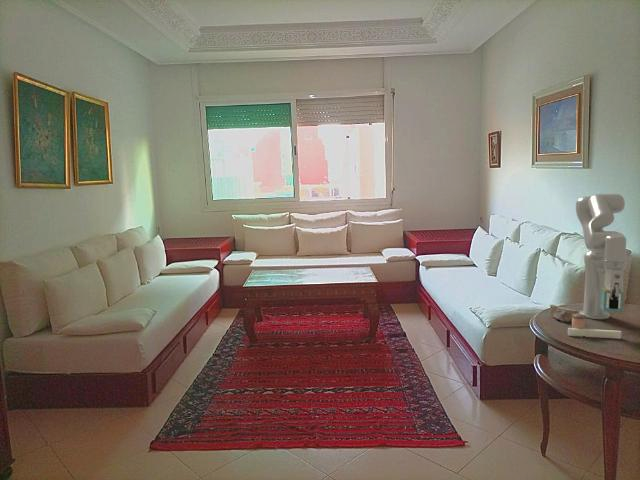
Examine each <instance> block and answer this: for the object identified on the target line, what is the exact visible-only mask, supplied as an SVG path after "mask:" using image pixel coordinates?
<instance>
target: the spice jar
mask: <svg viewBox="0 0 640 480" xmlns="http://www.w3.org/2000/svg"><path fill="white" fill-rule="evenodd" d="M585 325H586V316H585V315H583V314H580V313H578V314H577V313H576V314H572V322H571V328H578V329H586V328H585V327H586V326H585Z"/></svg>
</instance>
